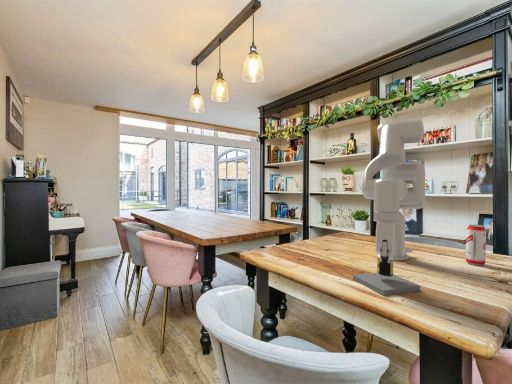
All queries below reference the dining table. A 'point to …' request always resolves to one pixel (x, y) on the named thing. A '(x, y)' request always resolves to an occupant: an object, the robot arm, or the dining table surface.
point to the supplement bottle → (390, 265)
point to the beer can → (476, 245)
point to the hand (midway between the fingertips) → (385, 271)
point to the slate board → (386, 283)
